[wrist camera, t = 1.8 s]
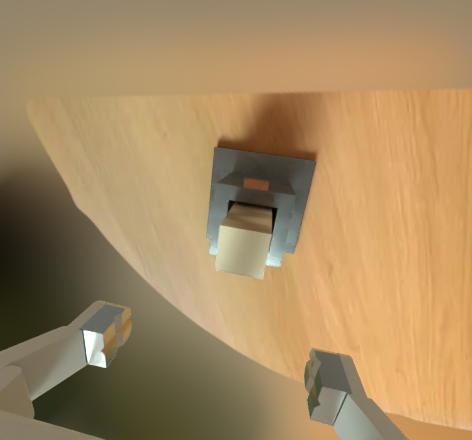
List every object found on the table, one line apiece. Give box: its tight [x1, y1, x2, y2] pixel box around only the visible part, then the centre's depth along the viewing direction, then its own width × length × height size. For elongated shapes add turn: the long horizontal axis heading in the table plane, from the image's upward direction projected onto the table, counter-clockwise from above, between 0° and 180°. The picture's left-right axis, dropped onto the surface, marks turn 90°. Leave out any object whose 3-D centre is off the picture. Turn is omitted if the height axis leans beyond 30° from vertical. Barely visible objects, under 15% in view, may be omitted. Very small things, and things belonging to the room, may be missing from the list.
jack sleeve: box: [206, 147, 316, 267], centre depth 28 cm, size 14×14×12 cm
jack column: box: [215, 201, 272, 279], centre depth 25 cm, size 4×4×16 cm
